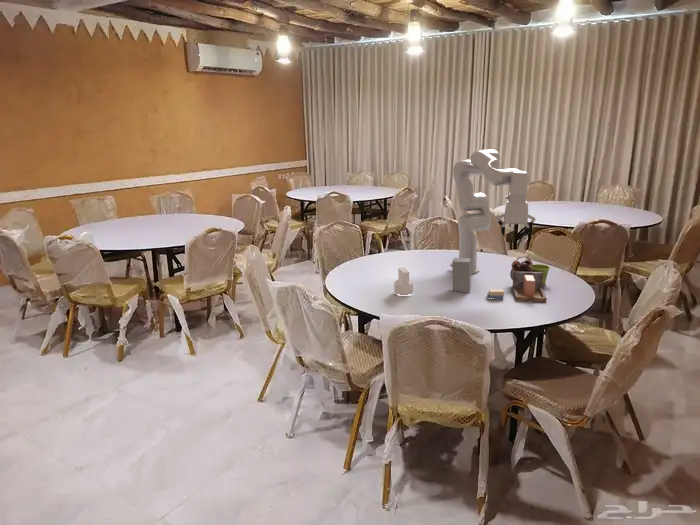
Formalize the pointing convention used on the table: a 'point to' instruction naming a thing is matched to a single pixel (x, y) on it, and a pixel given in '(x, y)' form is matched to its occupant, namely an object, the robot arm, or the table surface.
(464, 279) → the skincare box
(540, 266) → the plant pot
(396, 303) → the table surface
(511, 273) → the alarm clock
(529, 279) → the salmon pink block
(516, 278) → the brown open box
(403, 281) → the cylinder with rectangular tab
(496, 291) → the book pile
